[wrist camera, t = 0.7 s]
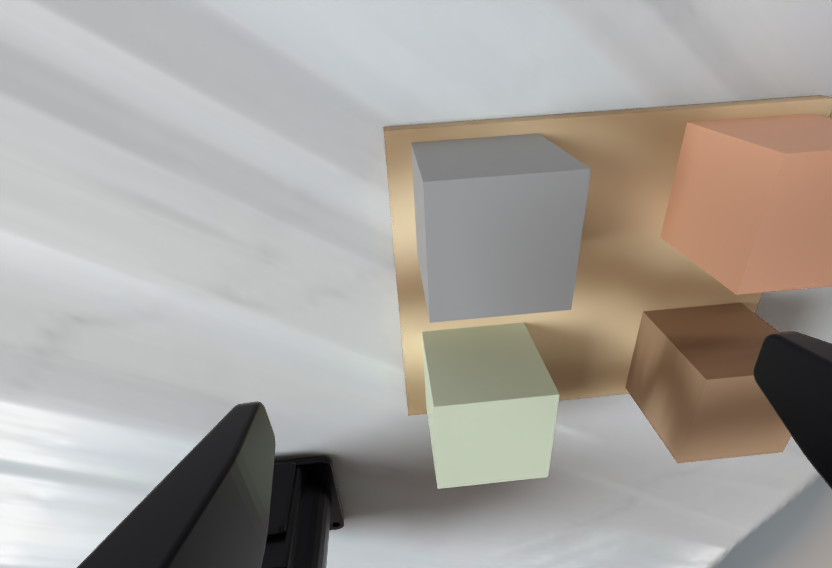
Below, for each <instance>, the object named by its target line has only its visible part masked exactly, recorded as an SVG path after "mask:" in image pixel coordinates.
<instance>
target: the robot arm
mask: <svg viewBox="0 0 832 568" xmlns="http://www.w3.org/2000/svg"><path fill="white" fill-rule="evenodd" d="M753 374H754V379H755V381H756V383H757V385H758V386H759V388H760V389H761V391H762V392H763V394H764V395H765V397H766V398H767V400H768V401H769V403H770V404H771V406H772V407H773V409H774V410H775V412H776V413H777V415H778V416H779V418H780V419H781V421H782V422H783V424H784V425H785V427H786V428H787V430H788V431H789V433H790V434H791V436H792V437H793V439H794V440H795V442H796V443H797V445H798V446H799V447H800V449H801V450H802V452H803V453H804V455H805V456H806V457H807V459H808V460H809V461H810V463H811V464H812V465H813V467H814V468H815V469H816V470H817V472H818V473H819V474H820V475H821V477H822V478H823V479H824V480H825V482H826V483H827V484H828V485H829V487H830V488H831V489H832V344H831V343H828V342H825V341H822V340H819V339H816V338H813V337H810V336H807V335H804V334H801V333H798V332H793V331H788V332H780V333H773V334H770V335H768V336H767V337H766V338H765V339H764V340H763V343H762V346H761V349H760V351H759V354H758V357H757V360H756V363H755V366H754V369H753ZM274 457H275V436H274V433H273V430H272V427H271V424H270V421H269V418H268V416H267V413H266V410H265V407H264V405H263V404H262V403H261V402H250V403H243V404H238V405H236V406H235V407H234V408H233V409H232V410H231V411H230V412H229V413H228V414H227V415H226V416H225V417H224V418H223V419H222V420H221V421H220V422H219V423H218V424H217V425H216V426H215V427H214V428H213V429H212V430H211V431H210V432H209V433H208V434H207V435H206V436H205V437H204V438H203V439H202V440H201V441H200V442H199V443H198V444H197V445H196V446H195V447H194V449H193V450H192V451H191V452H190V453H189V454H188V455H187V456H186V457H185V458H184V459H183V460H182V461H181V462H180V463H179V464H178V465H177V466H176V467H175V468H174V469H173V470H172V471H171V472H170V473H169V474H168V475H167V476H166V477H165V478H164V479H163V480H162V481H161V482H160V483H159V484H158V485H157V486H156V487H155V488H154V489H153V490H152V491H151V492H150V493H149V494H148V495H147V497H146V498H145V499H144V500H143V501H142V502H141V503H140V504H139V505H138V506H137V507H136V508H135V509H134V510H133V511H132V512H131V513H130V514H129V515H128V516H127V517H126V518H125V519H124V520H123V521H122V522H121V523H120V524H119V525H118V526H117V527H116V528H115V529H114V530H113V531H112V532H111V533H110V534H109V535H108V536H107V537H106V538H105V539H104V540H103V541H102V542H101V543H100V544H99V546H98V547H97V548H96V549H95V550H94V551H93V552H92V553H91V554H90V555H89V556H88V557H87V558H86V559H85V560H84V561H83V562H82V563H81V564H80V565H79V566H78V567H77V568H326V563H327V551H328V540H329V530H335V529H340V528H342V527H343V526H344V516H343V511H342V506H341V502H340V497H339V493H338V488H337V483H336V479H335V474H334V470H333V465H332V461H331V459H329V458H327V457H314V458H305V459H295V460H285V461H275V462H274Z"/></svg>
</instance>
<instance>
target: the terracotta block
mask: <svg viewBox="0 0 832 568" xmlns="http://www.w3.org/2000/svg"><path fill="white" fill-rule="evenodd" d="M660 238H661V239H663V240H664V241H665V242H667V243H668V244H669V245H671V246H672V247H673V248H675V249H676V250H677V251H679V252H680V253H681V254H683V255H684V256H685V257H687V258H688V259H689V260H691V261H692V262H693V263H695V264H696V265H697V266H699V267H700V268H701V269H703V270H704V271H705V272H707V273H708V274H709V275H711V276H712V277H713V278H715V279H716V280H717V281H719V282H720V283H721V284H723V285H724V286H725V287H727V288H728V289H729V290H731V291H732V292H733V293H734V294H736V295H740V294H751V293H762V292H773V291H784V290H794V289H805V288H816V287H827V286H832V118H828V117H823V116H819V115H814V114H809V113H805V114H791V115H778V116H764V117H751V118H737V119H724V120H710V121H697V122H687V125H686V129H685V134H684V138H683V142H682V147H681V151H680V155H679V159H678V164H677V168H676V172H675V176H674V181H673V185H672V189H671V194H670V198H669V202H668V206H667V211H666V215H665V219H664V224H663V228H662V232H661V236H660Z"/></svg>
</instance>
